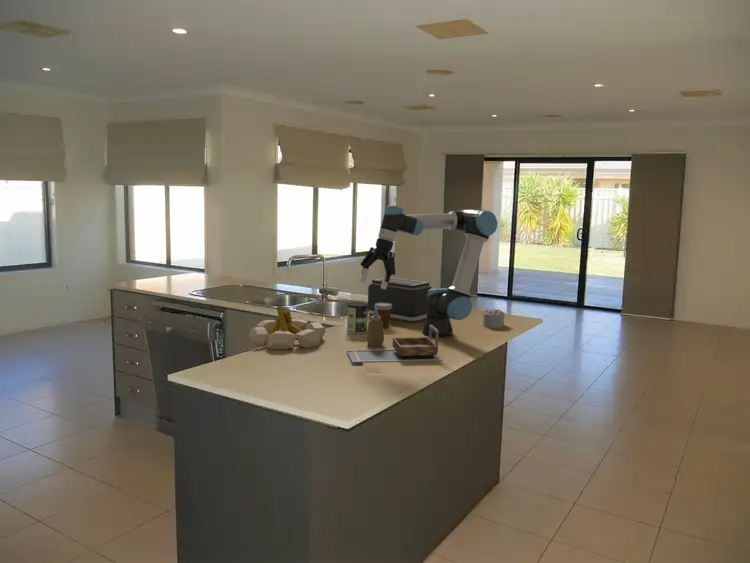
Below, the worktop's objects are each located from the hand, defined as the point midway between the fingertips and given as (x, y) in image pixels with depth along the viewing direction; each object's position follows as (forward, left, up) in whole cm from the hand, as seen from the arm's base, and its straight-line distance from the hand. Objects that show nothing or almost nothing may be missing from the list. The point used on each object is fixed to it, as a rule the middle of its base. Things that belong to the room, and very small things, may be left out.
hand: (372, 285), depth 278 cm
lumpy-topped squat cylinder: (-73, -42, -29) cm, 90 cm away
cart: (-16, +16, -28) cm, 36 cm away
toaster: (-26, -69, -29) cm, 79 cm away
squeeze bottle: (-2, -2, -29) cm, 29 cm away
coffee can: (+2, -33, -29) cm, 44 cm away
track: (-7, +16, -29) cm, 34 cm away
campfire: (+37, -16, -29) cm, 50 cm away
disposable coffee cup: (-13, -43, -29) cm, 54 cm away
